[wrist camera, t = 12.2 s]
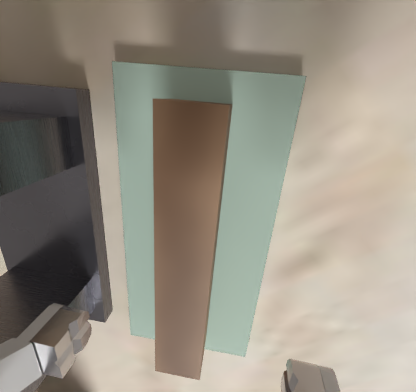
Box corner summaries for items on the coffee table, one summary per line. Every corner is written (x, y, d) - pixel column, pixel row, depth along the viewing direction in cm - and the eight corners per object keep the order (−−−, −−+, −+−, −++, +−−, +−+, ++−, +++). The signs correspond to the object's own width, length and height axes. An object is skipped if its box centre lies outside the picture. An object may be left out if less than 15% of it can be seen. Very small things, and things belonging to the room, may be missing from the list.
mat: (302, 77, 12) (306, 75, 11) (245, 347, 20) (245, 356, 20) (119, 63, 13) (111, 61, 12) (134, 326, 21) (130, 334, 21)
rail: (232, 104, 12) (229, 105, 9) (206, 337, 19) (199, 379, 16) (173, 98, 13) (152, 98, 10) (168, 330, 20) (155, 370, 17)
